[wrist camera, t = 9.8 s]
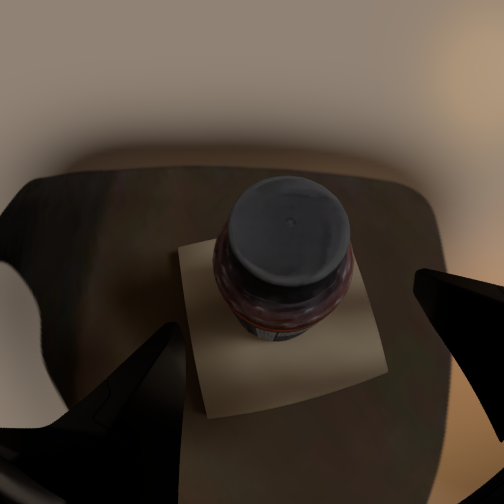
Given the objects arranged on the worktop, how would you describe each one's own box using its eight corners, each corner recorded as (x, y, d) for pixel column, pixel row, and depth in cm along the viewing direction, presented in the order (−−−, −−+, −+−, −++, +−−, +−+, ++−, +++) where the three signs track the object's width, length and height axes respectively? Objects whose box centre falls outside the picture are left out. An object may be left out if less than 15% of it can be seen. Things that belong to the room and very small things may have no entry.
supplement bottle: (227, 269, 20) (189, 166, 10) (306, 253, 20) (342, 143, 10) (242, 351, 18) (208, 335, 7) (327, 332, 18) (404, 289, 7)
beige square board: (381, 371, 17) (388, 371, 16) (211, 415, 17) (207, 419, 16) (334, 220, 22) (337, 213, 21) (182, 253, 22) (177, 247, 21)
